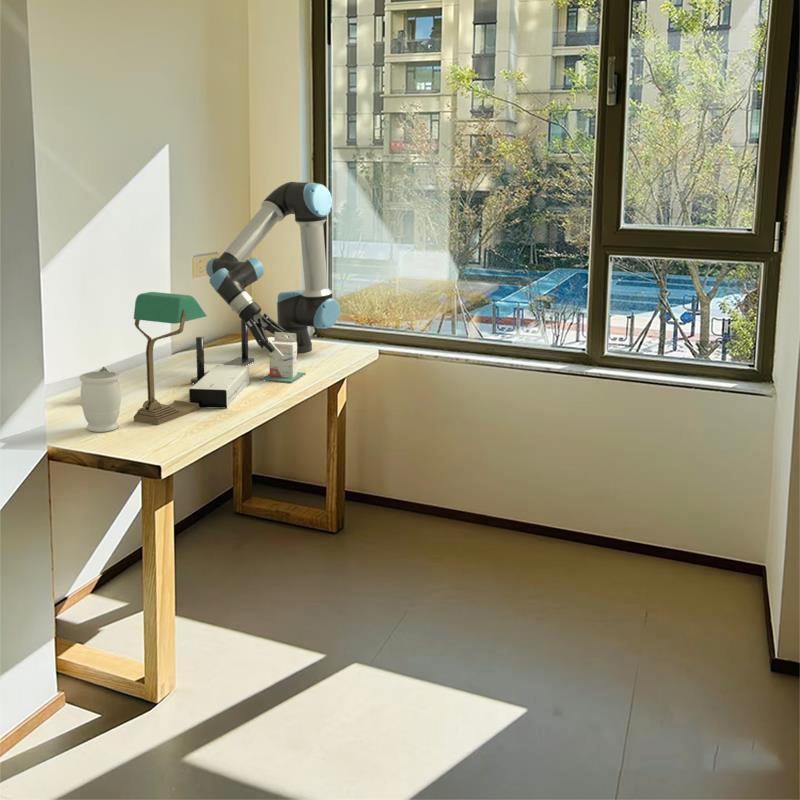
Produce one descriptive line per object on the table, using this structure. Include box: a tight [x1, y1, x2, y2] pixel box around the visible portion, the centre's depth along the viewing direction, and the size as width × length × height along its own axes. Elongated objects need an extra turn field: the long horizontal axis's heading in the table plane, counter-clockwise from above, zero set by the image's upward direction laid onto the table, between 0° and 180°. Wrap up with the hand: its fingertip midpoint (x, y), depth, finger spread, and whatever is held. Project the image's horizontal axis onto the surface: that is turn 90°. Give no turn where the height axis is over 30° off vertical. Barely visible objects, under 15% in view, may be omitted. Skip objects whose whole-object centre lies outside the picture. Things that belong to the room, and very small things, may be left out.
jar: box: [79, 370, 122, 433], centre depth 252 cm, size 11×10×15 cm
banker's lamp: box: [133, 291, 208, 426], centre depth 264 cm, size 16×21×35 cm
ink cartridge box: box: [269, 332, 298, 378], centre depth 316 cm, size 9×5×15 cm, turn 78°
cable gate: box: [190, 319, 255, 385], centre depth 321 cm, size 38×6×16 cm, turn 166°
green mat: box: [260, 371, 306, 384], centre depth 318 cm, size 14×11×1 cm
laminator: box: [188, 364, 250, 409], centre depth 293 cm, size 34×12×6 cm, turn 178°
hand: (287, 354), depth 315 cm, fingers open, 13 cm apart
